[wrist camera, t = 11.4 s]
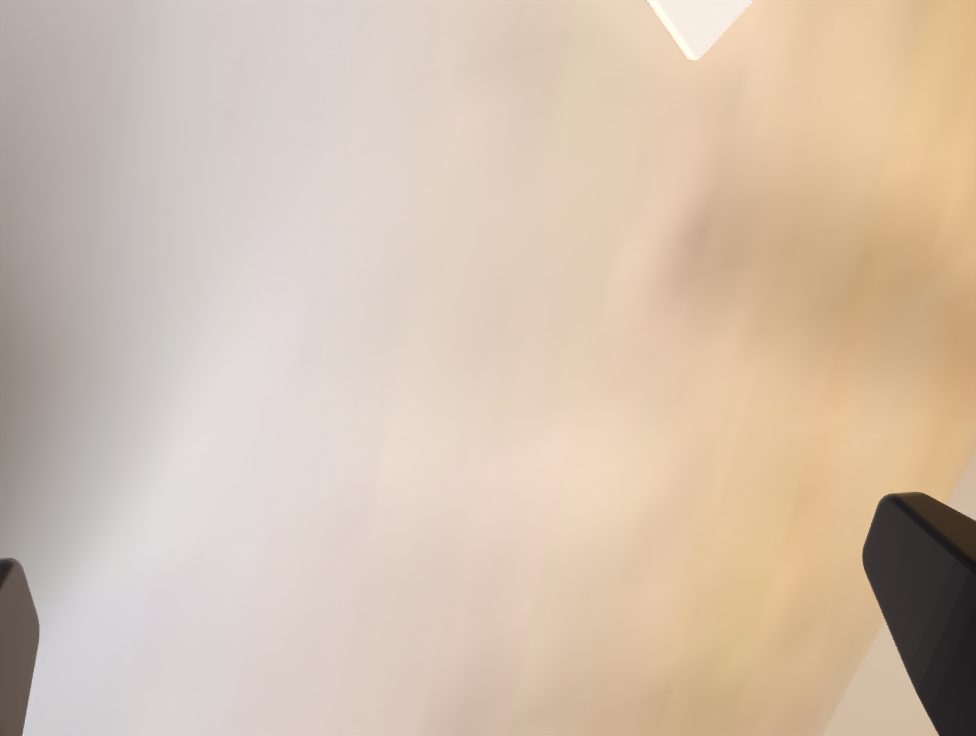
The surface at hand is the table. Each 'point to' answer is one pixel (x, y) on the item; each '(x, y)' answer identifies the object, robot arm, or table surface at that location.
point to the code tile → (697, 21)
